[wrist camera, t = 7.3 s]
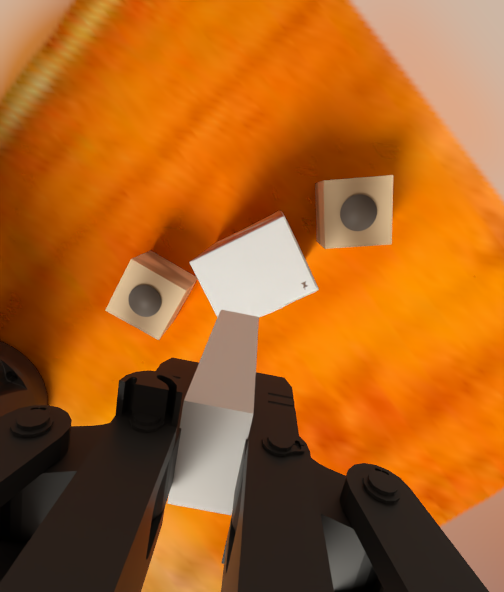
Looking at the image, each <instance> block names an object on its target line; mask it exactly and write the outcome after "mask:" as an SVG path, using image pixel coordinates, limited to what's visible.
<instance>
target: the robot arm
mask: <svg viewBox="0 0 504 592" xmlns="http://www.w3.org/2000/svg"><path fill="white" fill-rule="evenodd" d="M258 322H259V317H257V316H252V315H247V314H242V313H237V312H231V311H226V310H221V311H220V313H219V315H218V318H217V320H216V323H215V325H214V328H213V330H212V333H211V335H210V338H209V340H208V342H207V345H206V347H205V350H204V352H203V355H202V357H201V360H200V362H199V363H197V362H192V361H187V360H182V359H177V358H171V359H169V360H167V361H165V362H163V363H161V364H160V366H159V367H158V369H157V370H156V371H140V372H135V373H132V374H129V375H126V376H125V377H123V378H122V379H121V380H119V388H118V397H117V407H116V416H115V417H114V418H113V420H112V421H111V423H108V424H104V425H96V426H73V427H71V418H70V416H69V414H68V413H67V412H66V411H64V410H62V409H61V408H58V407H54V406H49V405H48V399H47V392H46V388H45V385H44V382H43V380H42V378H41V376H40V374H39V372H38V371H37V369H36V368H35V366H34V365H33V364H32V363H31V362H30V361H29V360H28V359H27V358H26V357H25V356H24V355H23V354H22V353H20V352H19V351H18V350H16V349H15V348H13V347H12V346H10V345H8V344H6V343H4V342H1V341H0V592H141V589H142V586H143V583H144V580H145V577H146V574H147V570H148V567H149V564H150V561H151V558H152V555H153V551H154V548H155V545H156V542H157V539H158V536H159V532H160V529H161V526H162V521H163V515H164V508H165V504H166V501H167V498H168V504H173V505H178V506H184V507H189V508H195V509H200V510H205V511H211V512H216V513H222V514H227V515H231V514H232V518H231V523H230V527H229V532H228V536H227V541H226V545H225V550H224V554H223V559H222V563H223V564H224V571H223V580H222V588H221V592H489V591H488V590H487V588H486V587H485V586H484V585H483V583H482V582H481V581H480V579H479V578H478V577H477V575H476V574H475V573H474V571H473V570H472V569H471V568H470V566H469V565H468V564H467V562H466V561H465V560H464V558H463V557H462V556H461V555H460V553H459V552H458V551H457V549H456V548H455V547H454V545H453V544H452V543H451V541H450V540H449V539H448V538H447V536H446V535H445V534H444V532H443V531H442V530H441V528H440V527H439V526H438V524H437V523H436V522H435V520H434V519H433V518H432V516H431V515H430V514H429V513H428V511H427V510H426V509H425V507H424V506H423V505H422V503H421V502H420V501H419V499H418V498H417V497H416V496H415V494H414V493H413V492H412V490H411V489H410V488H409V487H408V486H407V485H406V484H405V483H404V482H403V481H402V480H401V479H400V478H399V477H398V476H396V475H395V474H393V473H392V472H390V471H389V470H386V469H384V468H382V467H379V466H377V465H372V464H366V463H362V464H356V465H354V466H352V467H351V468H350V469H349V470H348V472H347V475H346V476H345V475H342V474H340V473H338V472H335V471H333V470H331V469H328V468H326V467H324V466H322V465H321V464H319V463H317V462H316V461H315V460H313V459H312V458H311V456H310V451H309V449H308V446H307V444H306V443H305V442H304V441H303V440H302V439H301V437H300V436H299V433H298V426H297V419H296V412H295V408H294V406H295V405H294V399H293V392H292V387H291V386H290V384H289V383H288V382H287V381H286V379H285V378H282V377H277V376H272V375H267V374H262V373H256V358H257V340H258ZM168 495H169V497H168ZM232 509H233V510H232Z"/></svg>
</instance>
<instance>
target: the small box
mask: <svg viewBox="0 0 504 592" xmlns="http://www.w3.org/2000/svg"><path fill="white" fill-rule="evenodd" d="M190 265H191V267H192V269H193V271H194V273H195V274H196V276H197V278H198V280H199V282H200V284H201V286H202V288H203V290H204V292H205V294H206V296H207V298H208V300H209V302H210V304H211V306H212V308H213V310H214V312H215V314H216V315H217V317H218V315H219V313H220V311H221V310H226V311H231V312H237V313H242V314H247V315H252V316H257V317H261V316H264V315H266V314H269V313H271V312H274V311H276V310H278V309H280V308H282V307H284V306H286V305H288V304H290V303H292V302H294V301H296V300H298V299H301V298H303V297H305V296H307V295H309V294H311V293H313V292H316V291H317V290H318V289H319V288H318V286H317V284H316V282H315V280H314V277H313V275H312V273H311V271H310V269H309V266H308V264H307V262H306V260H305V258H304V255H303V253H302V251H301V249H300V247H299V245H298V243H297V240H296V238H295V236H294V234H293V232H292V230H291V228H290V226H289V224H288V222H287V220H286V218H285V216H284V214H283V213H282V212H281V211H280V210H279V211H277V212H276V213H274V214H272V215H270V216H268V217H266V218H264V219H262V220H260V221H258V222H256V223H254V224H252V225H250V226H248V227H246V228H244V229H242V230H240V231H238V232H236V233H234V234H232V235H230V236H228V237H226V238H224V239H222V240H220V241H217V242H216V243H214V244H213V245H212V246H210V247H209V248H208V249H206V250H205V251H204V252H202V253H201V254H200V255H198V256H197V257H196V258H194V259H193V260H191V261H190Z"/></svg>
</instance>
